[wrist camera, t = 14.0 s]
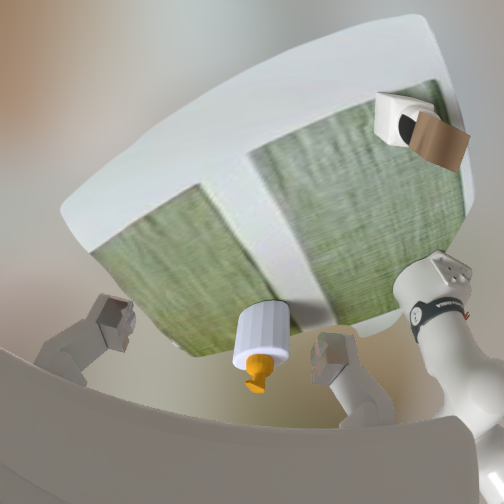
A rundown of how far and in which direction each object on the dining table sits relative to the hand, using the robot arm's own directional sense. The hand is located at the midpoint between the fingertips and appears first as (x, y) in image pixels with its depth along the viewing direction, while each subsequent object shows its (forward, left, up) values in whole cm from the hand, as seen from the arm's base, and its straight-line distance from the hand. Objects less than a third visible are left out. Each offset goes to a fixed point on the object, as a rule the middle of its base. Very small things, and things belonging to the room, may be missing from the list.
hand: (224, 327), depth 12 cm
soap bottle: (-7, +41, -38) cm, 57 cm away
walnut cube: (-20, -8, -26) cm, 34 cm away
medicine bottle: (-20, -8, -38) cm, 43 cm away
